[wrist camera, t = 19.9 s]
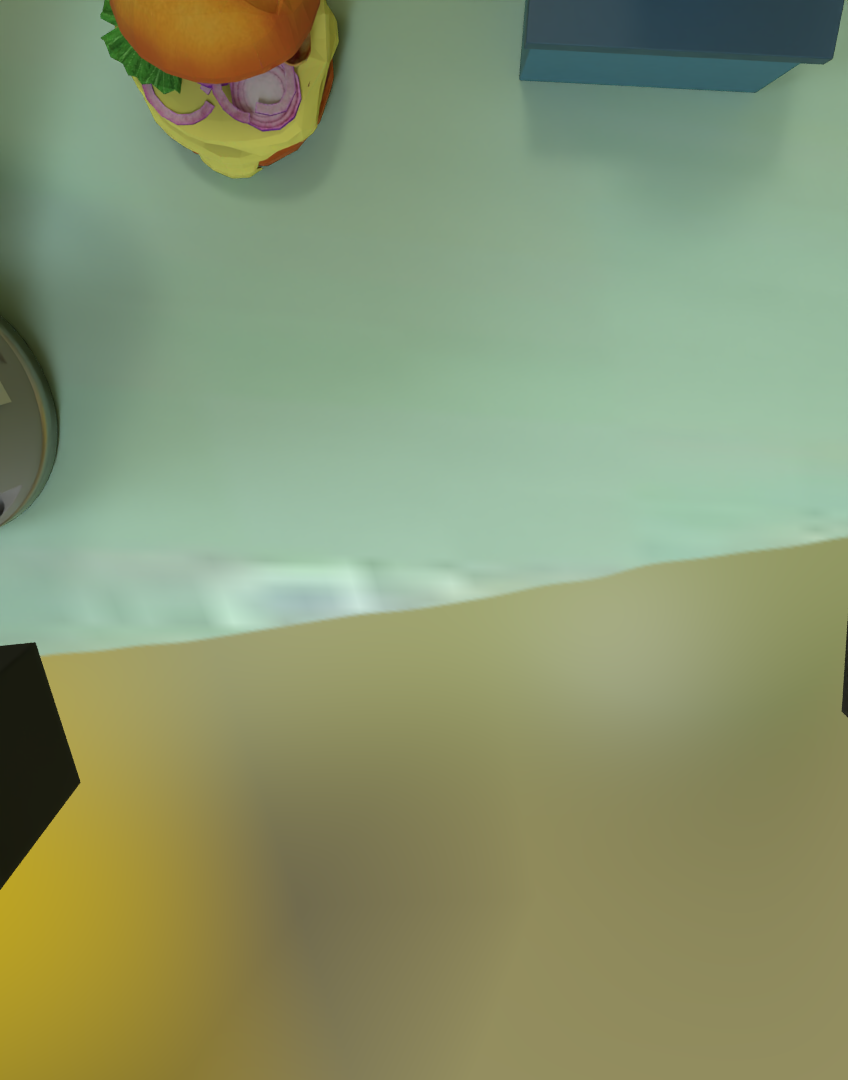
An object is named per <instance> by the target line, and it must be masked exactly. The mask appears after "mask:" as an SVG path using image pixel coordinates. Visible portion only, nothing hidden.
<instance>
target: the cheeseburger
mask: <svg viewBox="0 0 848 1080" xmlns="http://www.w3.org/2000/svg"><path fill="white" fill-rule="evenodd" d="M100 15H101V19H103V20H105V21H107V22H109V23H111V24H113V25H115V29H114V30H112V31H111V32H109V33H107V34H106V35H104V36H103V37H101V39H102V40H104V41H105V44H106V46H107V49H108V51H109V54H110V56H111V57H112V58H113V59H115V60H117V61H119V62H121V63H123V65H124V67H125V69H126V71H127V73H128V75H130V76H132V78H133V80H134V81H135V83H136V85H137V87H138V89H139V90H140V92H141V93H142V94H143V96H144V99H145V101H146V103H147V105H148V107H149V109H150V111H151V113H152V115H153V117H154V119H155V121H156V123H157V124H158V125H159V126H160V127H161V128H162V129H163V130H164V131H165V132H166V133H167V134H168V135H169V136H170V137H171V138H173V139H174V140H176V141H177V142H179V143H180V144H181V145H183V146H184V147H186V148H188V149H190V150H192V151H193V152H194V153H196V154H199V155H200V157H201V159H202V161H203V162H204V163H205V164H207V165H208V166H209V167H210V168H212V169H213V170H214V171H216V172H218V173H221V174H223V175H226V176H228V177H230V178H250V177H251V176H253V175H254V174H256V173H257V172H258V171H261V170H262V169H263V168H261V167H258V166H268V165H270V164H272V163H274V162H276V161H278V160H280V159H281V158H283V157H285V156H287V155H289V154H291V153H292V152H294V151H296V150H298V149H299V147H300V146H301V145H302V144H303V142H304V141H305V140H306V139H307V137H309V136H310V135H311V134H313V132H314V131H315V129H316V128H317V125H318V124H319V123H320V121H321V118H322V115H323V112H324V109H325V106H326V103H327V100H328V97H329V94H330V91H331V88H332V83H333V78H334V74H333V55H334V53H335V50H336V48H337V45H338V43H339V38H338V28H337V21H336V19H335V17H334V14H333V13H332V11H331V10H330V8H329V7H328V5H327V2H326V0H105V1H104V7H103V12H102V13H101V14H100Z"/></svg>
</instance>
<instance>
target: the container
mask: <svg viewBox="0 0 848 1080" xmlns="http://www.w3.org/2000/svg"><path fill="white" fill-rule="evenodd" d="M843 5H844V0H526V1H525V13H524V25H523V38H522V50H521V63H520V75H519V79H520V80H525V81H544V82H563V83H582V84H601V85H620V86H639V87H659V88H678V89H697V90H716V91H735V92H754V93H755V92H757V91H759V90H760V89H762V88H763V87H765V86H766V85H768V84H769V83H771V82H772V81H774V80H776V79H777V78H779V77H780V76H782V75H783V74H785V73H786V72H788V71H789V70H791V69H792V68H794V67H795V66H797V65H798V64H800V63H806V64H825V63H827V62H828V61H830V60H831V59H833V55H834V50H835V45H836V40H837V35H838V30H839V25H840V20H841V15H842V10H843Z"/></svg>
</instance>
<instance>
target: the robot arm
mask: <svg viewBox="0 0 848 1080" xmlns="http://www.w3.org/2000/svg"><path fill="white" fill-rule="evenodd" d="M57 433H58V432H57V418H56V411H55V406H54V402H53V398H52V394H51V391H50V388H49V385H48V382H47V380H46V378H45V375H44V373H43V371H42V369H41V367H40V365H39V363H38V362H37V360H36V358H35V356H34V355H33V353H32V352H31V350H30V349H29V347H28V346H27V344H26V343H25V342H24V340H23V339H22V338H21V337H20V335H19V334H18V333H17V332H16V331H15V330H14V329H13V327H12V326H11V325H10V324H9V323H8V322H7V321H6V320H5V319H4V318H2V317H1V316H0V527H1V526H3V525H5V524H7V523H8V522H10V521H12V520H13V519H15V518H16V517H18V516H19V515H20V514H22V513H23V512H24V511H25V510H26V509H27V508H28V507H29V506H30V505H31V504H32V503H33V502H34V501H35V499H36V498H37V497H38V496H39V494H40V493H41V491H42V490H43V488H44V486H45V484H46V482H47V480H48V478H49V475H50V473H51V470H52V467H53V464H54V460H55V455H56V448H57ZM847 624H848V623H847ZM842 712H843V713H844V714H845V715H846V716H847V717H848V625H847V640H846V654H845V670H844V685H843V702H842ZM79 784H80V779H79V776H78V773H77V770H76V767H75V764H74V761H73V758H72V754H71V751H70V748H69V745H68V742H67V739H66V736H65V733H64V730H63V726H62V723H61V720H60V717H59V714H58V711H57V708H56V705H55V702H54V698H53V696H52V693H51V689H50V686H49V683H48V680H47V677H46V674H45V670H44V668H43V664H42V661H41V658H40V655H39V652H38V649H37V646H36V643H35V642H34V643H24V644H15V645H5V646H0V890H1V888H2V887H3V885H4V884H5V883H6V881H7V880H8V879H9V877H10V876H11V875H12V873H13V872H14V871H15V869H16V868H17V867H18V865H19V864H20V863H21V861H22V860H23V859H24V857H25V856H26V855H27V853H28V852H29V851H30V849H31V848H32V847H33V845H34V844H35V843H36V841H37V840H38V838H39V837H40V836H41V834H42V833H43V832H44V830H45V829H46V828H47V827H48V825H49V824H50V823H51V821H52V820H53V819H54V817H55V815H56V814H57V813H58V812H59V810H60V809H61V808H62V806H63V805H64V804H65V802H66V801H67V800H68V798H69V797H70V796H71V794H72V793H73V792H74V790H75V789H76V788H77V786H78V785H79Z"/></svg>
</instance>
